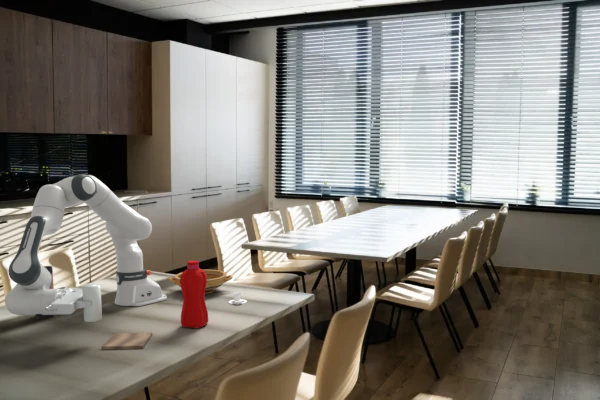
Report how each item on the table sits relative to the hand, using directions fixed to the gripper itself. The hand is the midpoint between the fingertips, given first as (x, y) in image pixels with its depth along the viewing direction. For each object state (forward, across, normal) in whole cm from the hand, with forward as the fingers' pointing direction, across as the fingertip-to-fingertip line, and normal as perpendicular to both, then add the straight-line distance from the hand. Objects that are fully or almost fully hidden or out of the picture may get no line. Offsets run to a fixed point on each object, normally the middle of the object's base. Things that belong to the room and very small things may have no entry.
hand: (94, 300), depth 206 cm
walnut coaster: (+11, -1, +15) cm, 19 cm away
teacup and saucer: (+43, +49, +16) cm, 67 cm away
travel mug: (-31, +34, +15) cm, 48 cm away
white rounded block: (-1, 0, +6) cm, 7 cm away
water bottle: (+32, +18, +16) cm, 40 cm away
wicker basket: (+27, +70, +16) cm, 77 cm away
